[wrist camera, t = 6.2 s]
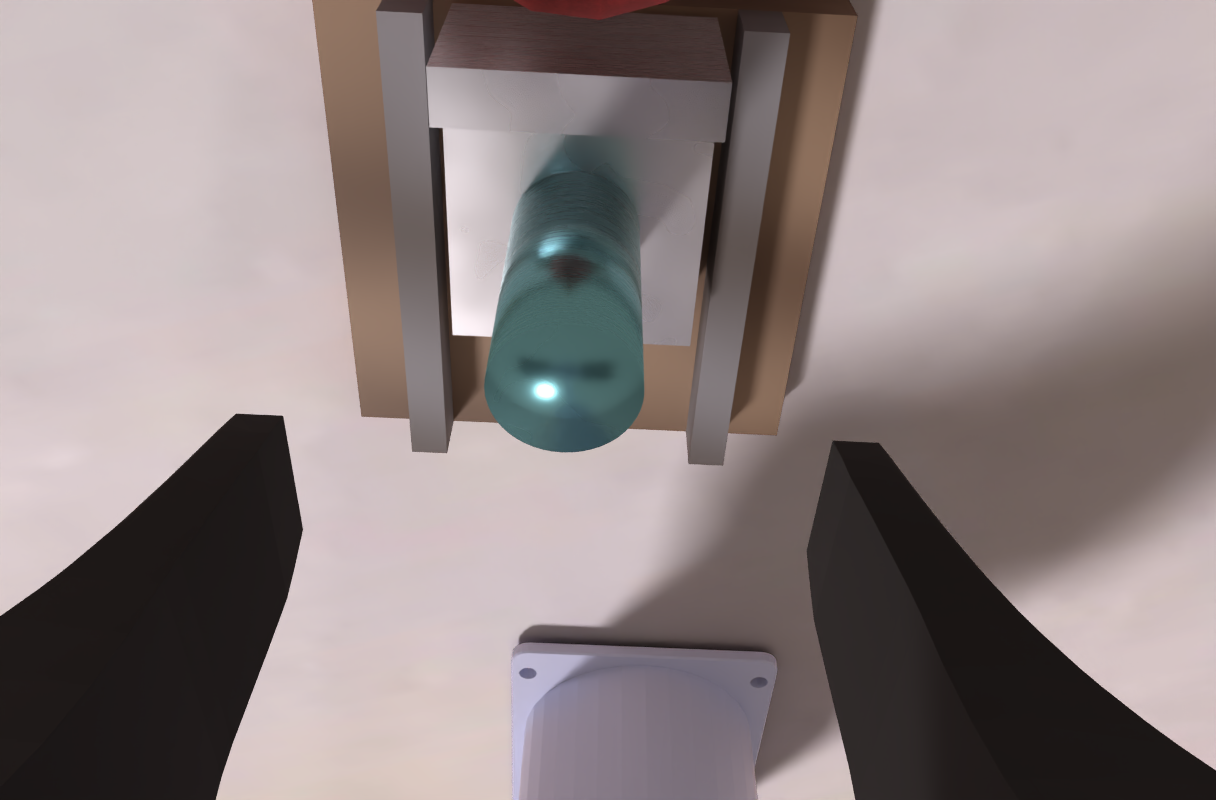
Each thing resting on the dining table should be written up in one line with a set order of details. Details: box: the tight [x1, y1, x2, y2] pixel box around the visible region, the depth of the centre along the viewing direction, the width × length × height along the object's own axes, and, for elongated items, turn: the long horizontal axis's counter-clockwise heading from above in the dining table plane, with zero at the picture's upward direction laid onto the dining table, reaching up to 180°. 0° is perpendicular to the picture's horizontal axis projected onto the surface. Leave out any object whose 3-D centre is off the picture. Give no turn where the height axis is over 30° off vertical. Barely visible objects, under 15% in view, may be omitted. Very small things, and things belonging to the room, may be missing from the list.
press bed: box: [312, 0, 858, 465], centre depth 18 cm, size 18×10×5 cm, turn 177°
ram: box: [426, 3, 732, 452], centre depth 18 cm, size 6×5×7 cm
